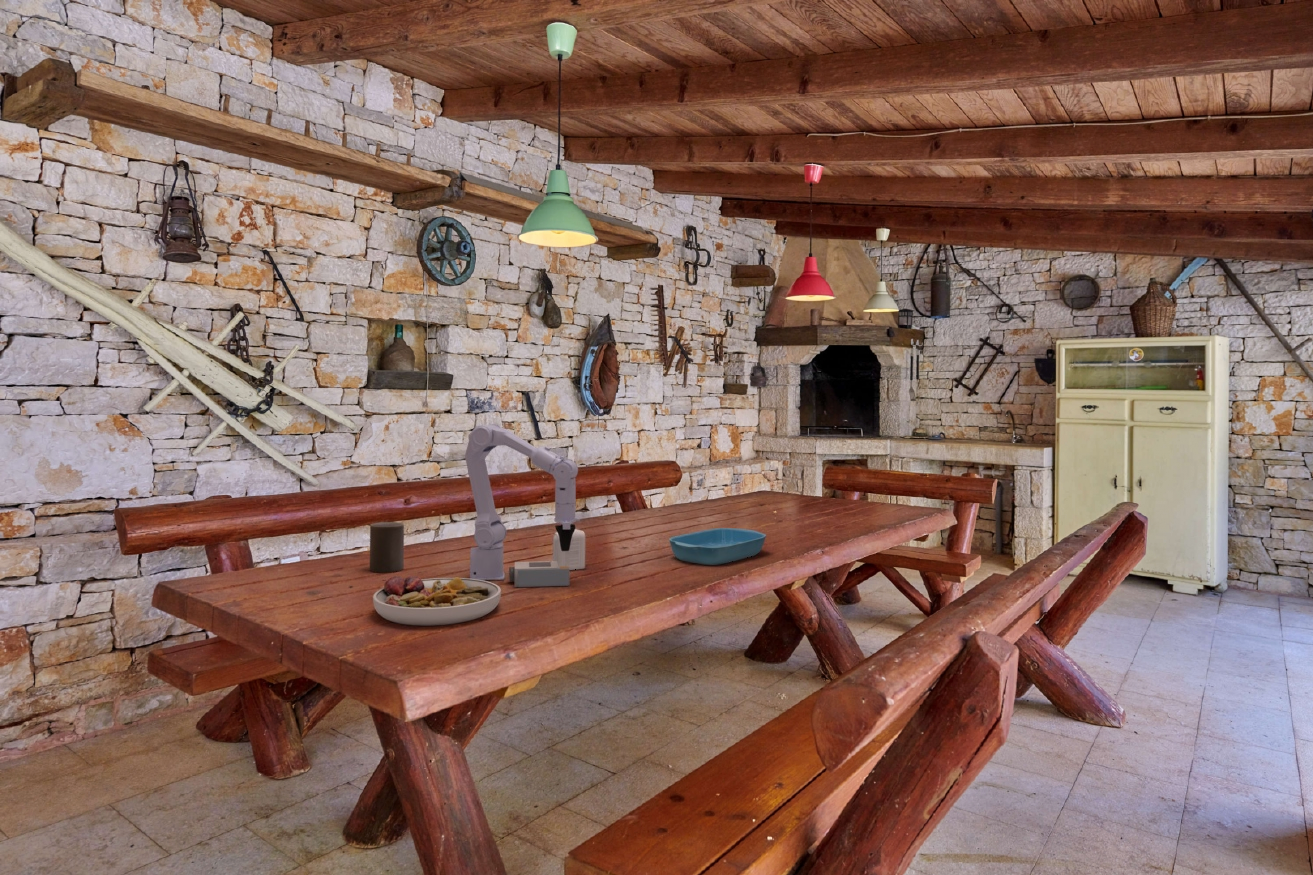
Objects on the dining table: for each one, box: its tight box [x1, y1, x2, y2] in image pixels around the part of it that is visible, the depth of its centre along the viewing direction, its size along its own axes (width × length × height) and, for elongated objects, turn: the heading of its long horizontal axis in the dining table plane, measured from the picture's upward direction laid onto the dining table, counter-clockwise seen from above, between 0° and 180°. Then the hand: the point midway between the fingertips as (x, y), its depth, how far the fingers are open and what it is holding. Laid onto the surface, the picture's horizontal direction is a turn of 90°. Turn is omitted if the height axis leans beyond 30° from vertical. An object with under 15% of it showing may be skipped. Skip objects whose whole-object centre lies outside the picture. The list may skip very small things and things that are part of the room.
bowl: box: [372, 575, 502, 627], centre depth 193 cm, size 30×30×8 cm
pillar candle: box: [369, 519, 405, 574], centre depth 237 cm, size 10×10×15 cm
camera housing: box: [508, 560, 558, 582], centre depth 223 cm, size 14×9×5 cm, turn 99°
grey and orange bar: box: [513, 567, 570, 588], centre depth 219 cm, size 15×4×5 cm, turn 99°
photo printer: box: [552, 528, 586, 571], centre depth 240 cm, size 10×4×12 cm, turn 123°
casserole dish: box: [668, 527, 767, 566], centre depth 262 cm, size 37×22×7 cm, turn 138°
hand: (565, 550), depth 223 cm, fingers closed
